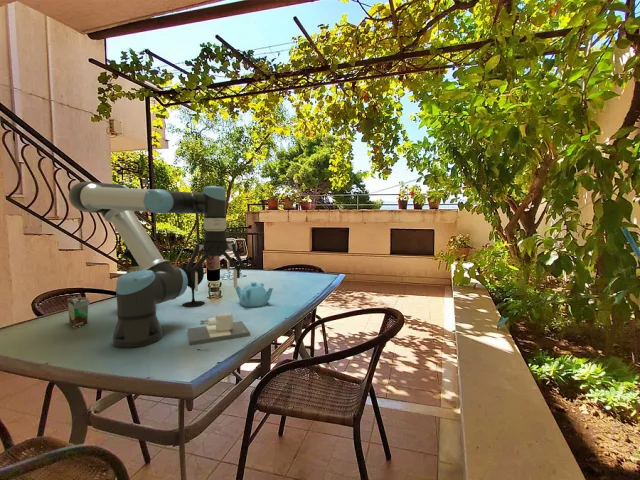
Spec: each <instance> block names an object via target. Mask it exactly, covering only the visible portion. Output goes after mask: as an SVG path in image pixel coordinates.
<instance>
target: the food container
mask: <svg viewBox="0 0 640 480" xmlns="http://www.w3.org/2000/svg"><path fill="white" fill-rule="evenodd" d="M90 302H91V301H90V300H89V298H88V297H85V296H76V297H68V298H67V306H68V310H67V311H68V319H69V324H70V323H71V324H72V325H73V326H74V327H78V328H80V327H79V326H82V327H84V326H86V325H88V321H89V319H88V318H89V317H88V315H89V305H90V304H91V303H90ZM71 324H70V325H71ZM85 324H86V325H85ZM72 325H71V326H72ZM83 325H84V326H83ZM73 326H72V327H73ZM74 327H73V328H74Z"/></svg>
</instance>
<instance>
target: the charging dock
mask: <svg viewBox="0 0 640 480" xmlns="http://www.w3.org/2000/svg"><path fill="white" fill-rule="evenodd" d="M187 336H188V339H189V340H188V341H189V344H190V345H189V346H192V345H198V344H205V343H212V342H219V341H223V340H231V339H237V338H238V339H239V338H243V336H244V337H250V336H251V332H250V331H249V329H248V328H247V326H246V324H245V323H244V322H243V321H242V320H241V321H234V322H233V328H232V330H228V331H217V330H216V325H211V326H209V325H206V326H205V325H204V326H198V327H191V328H187Z"/></svg>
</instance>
